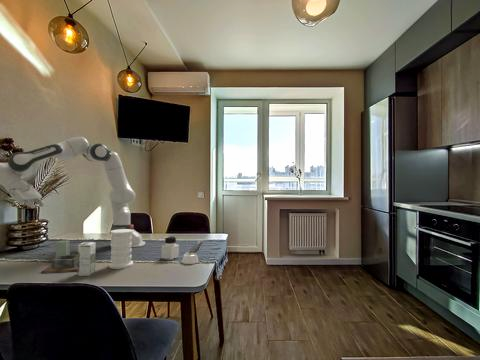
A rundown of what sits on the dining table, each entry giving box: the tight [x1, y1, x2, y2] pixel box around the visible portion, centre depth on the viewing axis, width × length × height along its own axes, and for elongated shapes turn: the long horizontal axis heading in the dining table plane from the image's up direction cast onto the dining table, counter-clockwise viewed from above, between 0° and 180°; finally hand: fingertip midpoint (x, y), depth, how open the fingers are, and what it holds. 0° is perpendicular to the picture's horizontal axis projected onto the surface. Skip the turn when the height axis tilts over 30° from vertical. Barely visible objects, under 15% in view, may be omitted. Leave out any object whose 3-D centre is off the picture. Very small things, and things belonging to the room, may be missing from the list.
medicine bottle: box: [160, 235, 180, 261], centre depth 166 cm, size 7×7×12 cm
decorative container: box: [108, 229, 134, 270], centre depth 150 cm, size 12×12×18 cm
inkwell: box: [181, 240, 204, 265], centre depth 162 cm, size 9×18×10 cm, turn 157°
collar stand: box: [41, 254, 78, 274], centre depth 146 cm, size 16×16×5 cm
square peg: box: [55, 239, 71, 258], centre depth 160 cm, size 5×5×10 cm
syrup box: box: [76, 241, 97, 277], centre depth 136 cm, size 6×6×14 cm
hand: (38, 206), depth 158 cm, fingers open, 8 cm apart
